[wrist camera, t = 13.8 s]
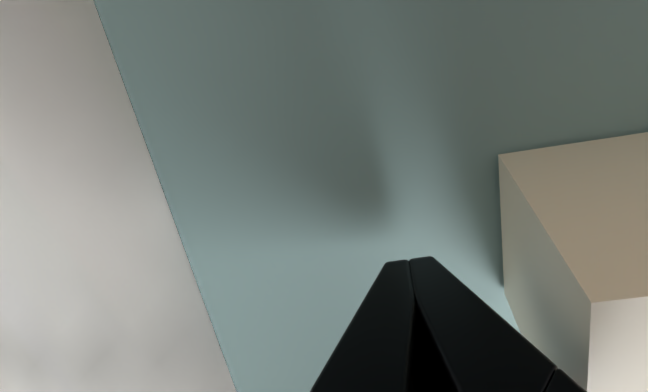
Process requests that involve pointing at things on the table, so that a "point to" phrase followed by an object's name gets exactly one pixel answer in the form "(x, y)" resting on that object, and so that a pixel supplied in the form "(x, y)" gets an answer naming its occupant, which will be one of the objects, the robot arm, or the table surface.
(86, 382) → the table surface
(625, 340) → the cream block
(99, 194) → the table surface
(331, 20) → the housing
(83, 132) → the table surface
